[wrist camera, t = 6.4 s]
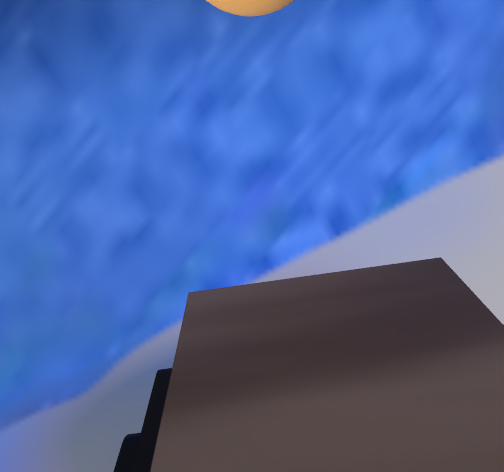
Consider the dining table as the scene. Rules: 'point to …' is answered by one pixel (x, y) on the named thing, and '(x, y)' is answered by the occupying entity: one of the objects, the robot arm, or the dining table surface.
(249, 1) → the ball
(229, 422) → the brown block
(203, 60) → the dining table surface
